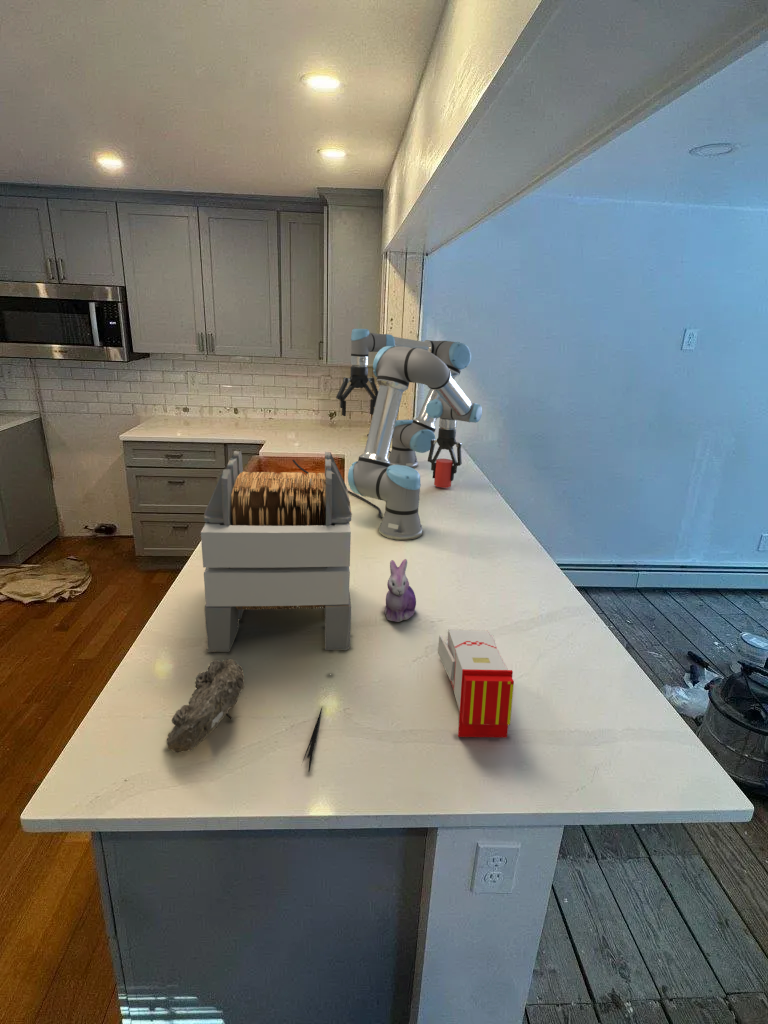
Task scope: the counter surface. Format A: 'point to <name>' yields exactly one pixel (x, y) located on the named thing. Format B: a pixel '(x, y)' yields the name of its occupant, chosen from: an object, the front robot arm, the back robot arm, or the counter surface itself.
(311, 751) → the feather
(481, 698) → the toy
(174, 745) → the fossil
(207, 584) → the grey boxy piece
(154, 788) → the counter surface
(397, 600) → the figurine
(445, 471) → the can
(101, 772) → the counter surface
